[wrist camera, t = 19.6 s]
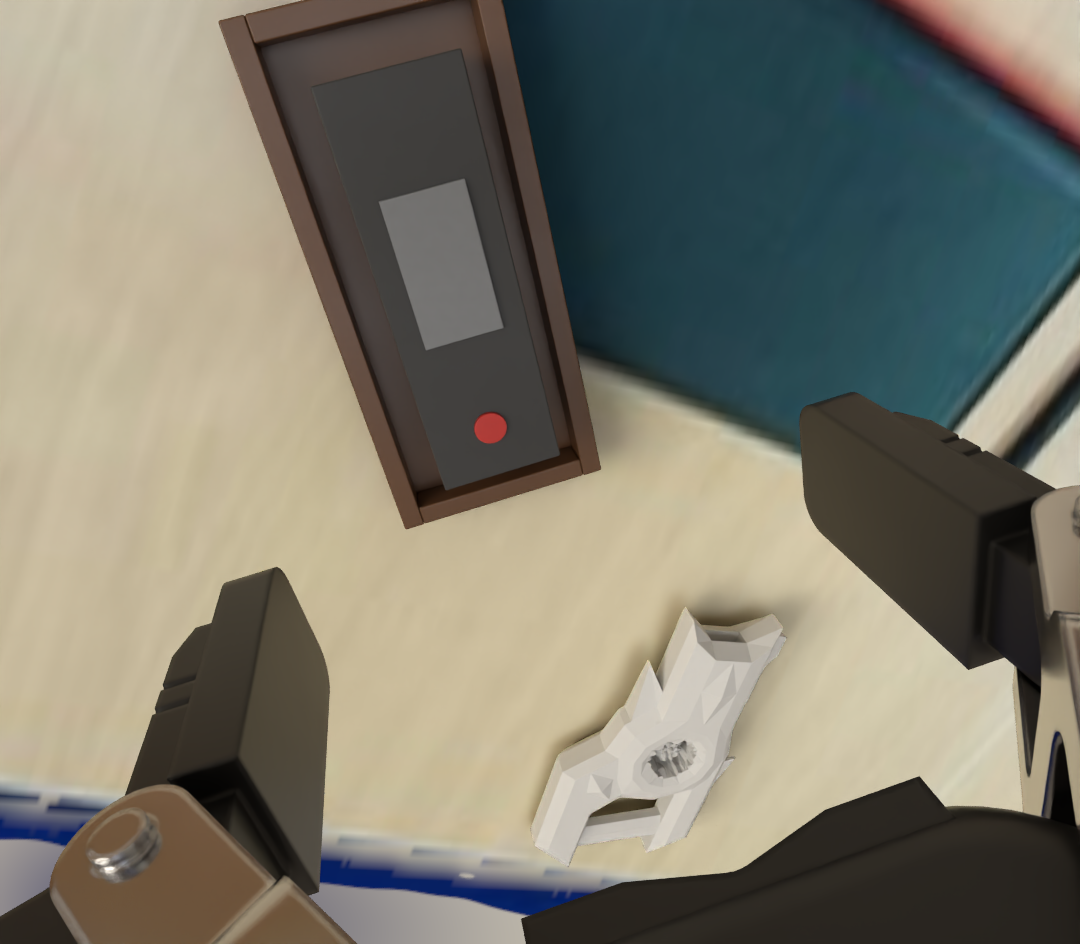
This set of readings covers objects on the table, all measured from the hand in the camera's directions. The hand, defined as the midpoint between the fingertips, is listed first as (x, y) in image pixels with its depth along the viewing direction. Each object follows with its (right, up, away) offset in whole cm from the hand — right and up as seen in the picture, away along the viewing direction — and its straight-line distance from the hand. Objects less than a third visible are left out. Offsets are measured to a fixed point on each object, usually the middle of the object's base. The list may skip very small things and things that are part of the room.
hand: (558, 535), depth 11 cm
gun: (+5, -13, +31) cm, 34 cm away
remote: (-4, +8, +17) cm, 20 cm away
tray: (-4, +9, +18) cm, 20 cm away
